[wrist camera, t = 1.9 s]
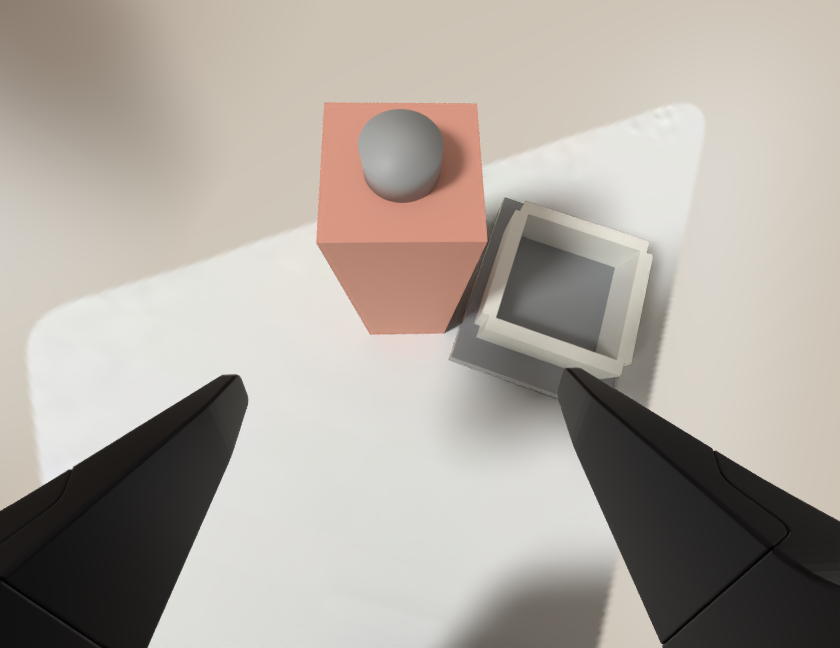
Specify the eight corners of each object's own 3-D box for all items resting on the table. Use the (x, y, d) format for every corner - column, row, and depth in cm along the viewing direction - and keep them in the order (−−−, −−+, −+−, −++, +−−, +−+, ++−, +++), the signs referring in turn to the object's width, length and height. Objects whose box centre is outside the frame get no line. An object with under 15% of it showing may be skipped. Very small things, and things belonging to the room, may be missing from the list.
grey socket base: (594, 412, 21) (635, 414, 17) (448, 359, 22) (456, 350, 18) (629, 252, 24) (671, 223, 20) (499, 209, 25) (515, 173, 21)
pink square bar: (444, 333, 22) (496, 223, 9) (370, 334, 22) (305, 224, 9) (441, 264, 24) (483, 73, 10) (371, 265, 23) (315, 72, 10)
